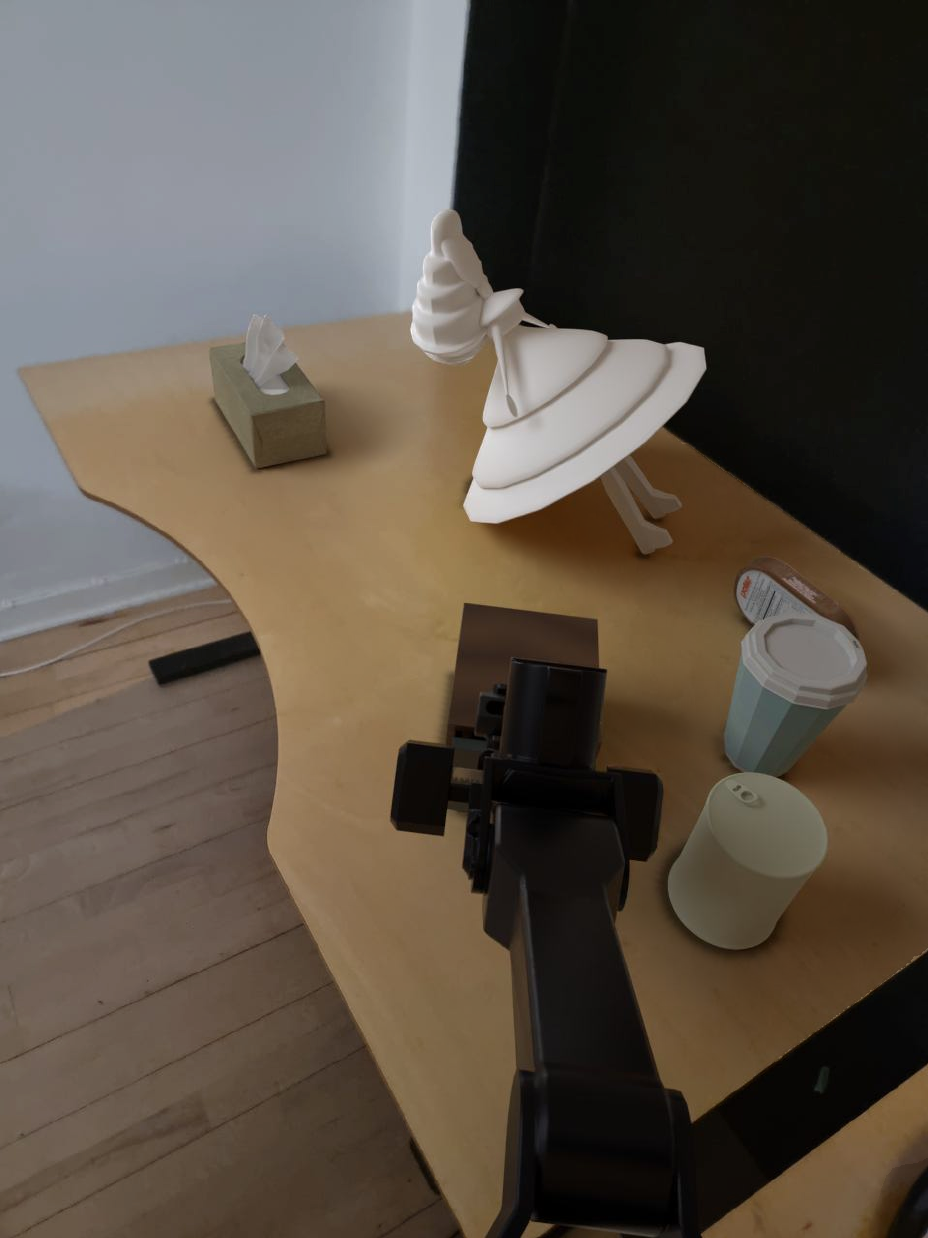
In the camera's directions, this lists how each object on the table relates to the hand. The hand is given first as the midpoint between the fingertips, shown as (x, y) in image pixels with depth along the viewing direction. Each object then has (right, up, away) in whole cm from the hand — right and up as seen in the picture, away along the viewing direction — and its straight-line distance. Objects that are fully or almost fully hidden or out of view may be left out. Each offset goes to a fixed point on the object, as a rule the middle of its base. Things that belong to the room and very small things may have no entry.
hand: (518, 779), depth 68 cm
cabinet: (0, +1, +13) cm, 13 cm away
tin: (+31, +10, +26) cm, 42 cm away
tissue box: (-31, +39, +48) cm, 70 cm away
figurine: (+5, +28, +41) cm, 50 cm away
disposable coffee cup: (+24, 0, +15) cm, 28 cm away
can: (+17, -11, +3) cm, 20 cm away
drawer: (0, -1, +9) cm, 9 cm away
